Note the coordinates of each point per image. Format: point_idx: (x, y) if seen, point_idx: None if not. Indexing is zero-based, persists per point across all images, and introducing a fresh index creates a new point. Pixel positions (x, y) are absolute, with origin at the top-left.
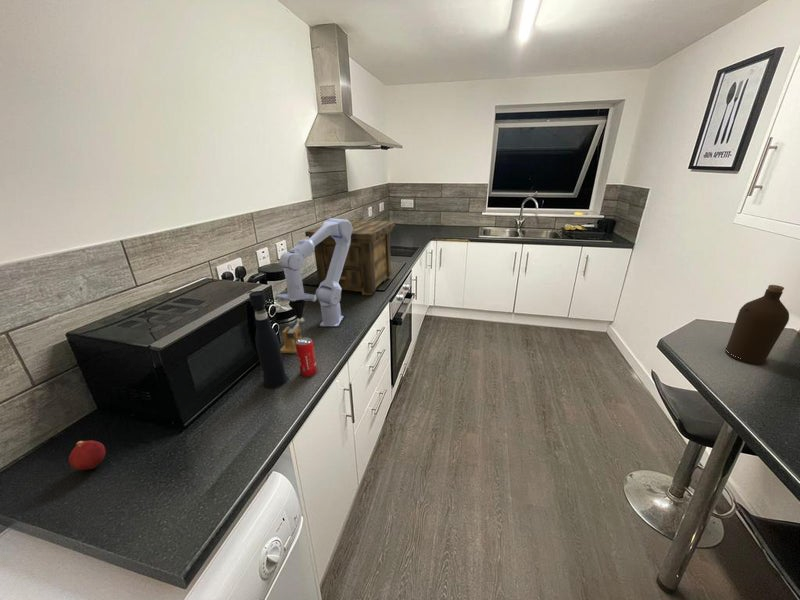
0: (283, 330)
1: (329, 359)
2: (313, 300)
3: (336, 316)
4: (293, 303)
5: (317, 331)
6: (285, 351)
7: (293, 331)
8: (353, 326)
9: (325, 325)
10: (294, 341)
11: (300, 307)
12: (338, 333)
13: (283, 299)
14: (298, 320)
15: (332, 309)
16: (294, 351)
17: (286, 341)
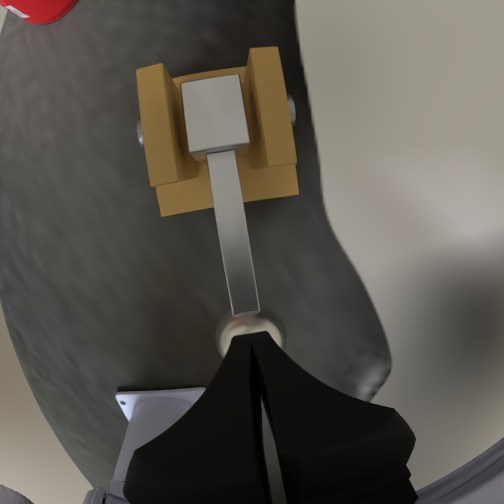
0: (282, 74)
1: (8, 107)
2: (6, 497)
3: (124, 439)
4: (311, 472)
5: (187, 341)
6: (237, 67)
7: (185, 105)
8: (62, 394)
9: (173, 392)
10: (243, 180)
11: (177, 425)
12: (74, 336)
13: (497, 453)
14: (256, 318)
15: (118, 468)
16: (179, 77)
17: (243, 80)
